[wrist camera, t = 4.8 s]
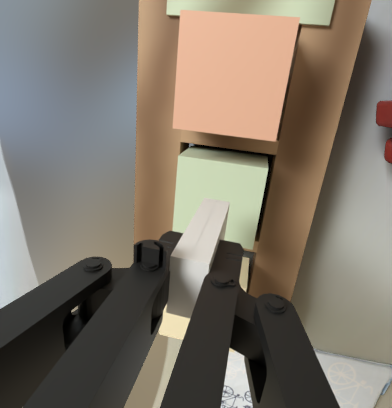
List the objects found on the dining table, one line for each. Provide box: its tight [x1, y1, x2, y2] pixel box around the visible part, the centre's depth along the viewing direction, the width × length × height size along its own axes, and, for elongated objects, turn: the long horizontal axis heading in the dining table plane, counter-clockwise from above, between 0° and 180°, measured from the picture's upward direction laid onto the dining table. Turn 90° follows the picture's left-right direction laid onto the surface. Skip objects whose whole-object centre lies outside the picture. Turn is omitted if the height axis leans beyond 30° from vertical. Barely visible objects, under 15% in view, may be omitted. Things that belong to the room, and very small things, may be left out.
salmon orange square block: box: [173, 10, 300, 142], centre depth 18 cm, size 6×6×4 cm
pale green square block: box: [172, 146, 268, 250], centre depth 22 cm, size 6×6×4 cm
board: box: [133, 0, 371, 302], centre depth 24 cm, size 14×26×3 cm, turn 174°
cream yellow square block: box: [159, 257, 249, 352], centre depth 24 cm, size 6×6×4 cm
